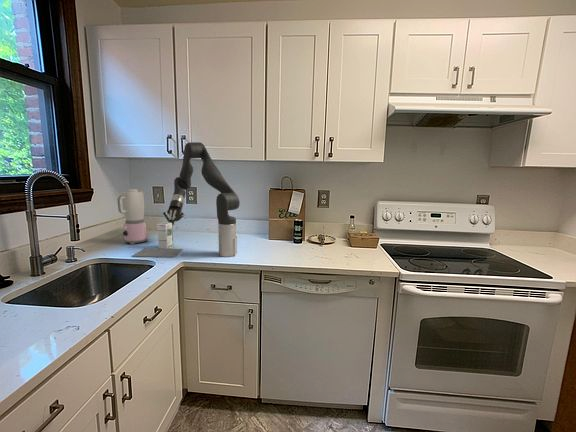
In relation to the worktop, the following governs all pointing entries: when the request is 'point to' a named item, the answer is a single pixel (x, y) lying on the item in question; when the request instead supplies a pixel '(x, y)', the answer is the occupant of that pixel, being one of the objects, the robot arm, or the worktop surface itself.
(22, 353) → the worktop surface
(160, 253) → the slate mat
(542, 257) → the worktop surface
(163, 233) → the syrup box
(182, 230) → the worktop surface
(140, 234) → the blender
